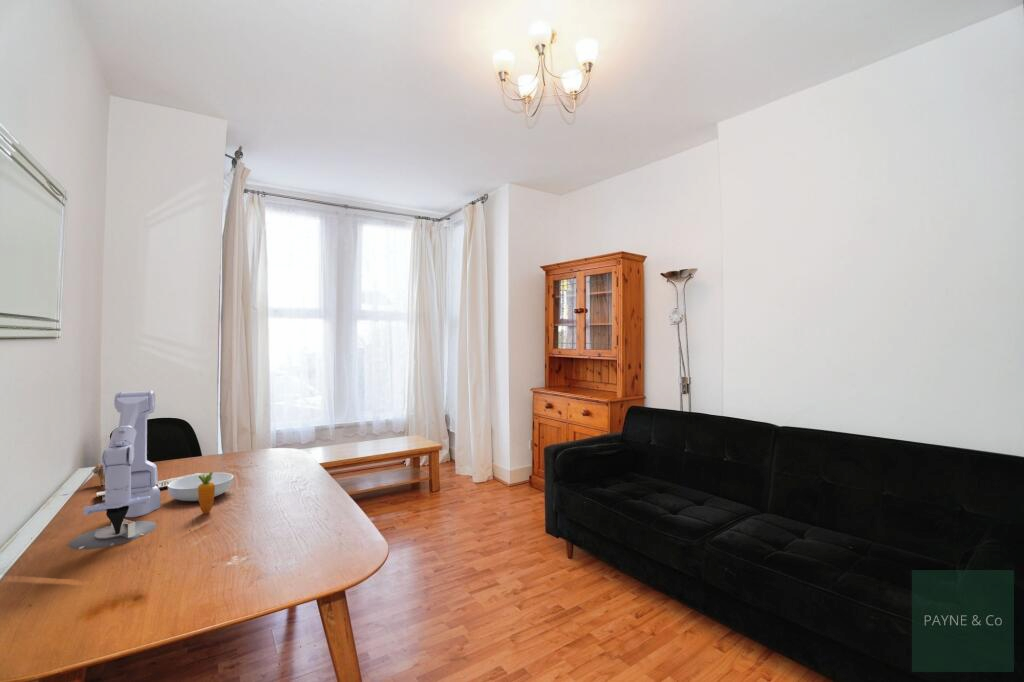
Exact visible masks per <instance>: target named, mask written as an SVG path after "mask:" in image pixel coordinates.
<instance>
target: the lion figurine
mask: <svg viewBox="0 0 1024 682" xmlns="http://www.w3.org/2000/svg"><path fill="white" fill-rule="evenodd" d="M96 465H97V466H95V468H93V469H92V470H91V472H92V473H93V475H97V476H98V478H99V482H100V485H103V486H105V474H104V473H103V465H102V463H98V464H96Z"/></svg>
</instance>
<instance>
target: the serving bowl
mask: <svg viewBox="0 0 1024 682" xmlns="http://www.w3.org/2000/svg"><path fill="white" fill-rule="evenodd" d="M209 473H210V472H208V473H207V472H205V473H202V474H197V475H192V476H187V477H183V478H180V479H177V480H174V481H172V482H170V483H169V484H168V485H167V487H168V488H167V491H168V493H169V495H170V496H171V497H172V498H173V499H175V500H178V501H183V502H199V496H198V486H199V485H200V484H203V482H202V481H201V479H200V478H199V477H198V476H199V475H201V476H202V477H203V475H205V478H206V476H207V475H209ZM211 477H212V479H211V480H210V481H209V482H212V483H214V486H215V492H214V498H215V497H217V496H219V495H222V494H224V493H225V492H227V490H229V488H230V487H231V486H232V484H233V481H234V474H232V473H230V472H229V473H228V472H212V476H211Z"/></svg>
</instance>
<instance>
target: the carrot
mask: <svg viewBox="0 0 1024 682" xmlns="http://www.w3.org/2000/svg"><path fill="white" fill-rule="evenodd" d="M208 473H209V475H207V476H206V478H205V475H203V477H202V476H201V475H199V476H198V477H199V478H200V479H201V481H202V482H203V484H200V485H199V486H198V496H199V501H198V503H199V507H200V510H201V512H202V514H203V515H208V514H210V513H211V510H212V509H213V505H214V501H215V497H214V492H215V486H214V483H212V482H209V481H210V480H211V479H212V477H211V476H212V473H213V471H210V472H208Z"/></svg>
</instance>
